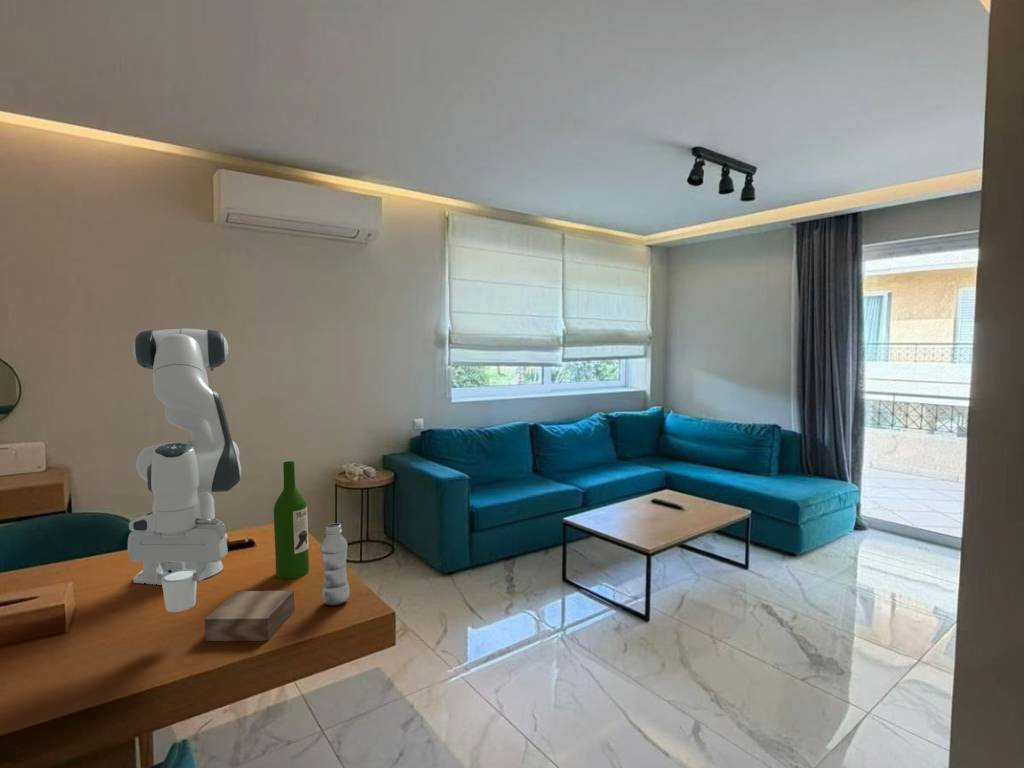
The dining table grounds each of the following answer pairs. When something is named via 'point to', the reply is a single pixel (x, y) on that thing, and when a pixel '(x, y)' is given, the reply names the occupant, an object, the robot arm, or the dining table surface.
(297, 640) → the dining table surface
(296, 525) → the wine bottle
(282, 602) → the block
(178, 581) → the white cup
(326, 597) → the plastic bottle
